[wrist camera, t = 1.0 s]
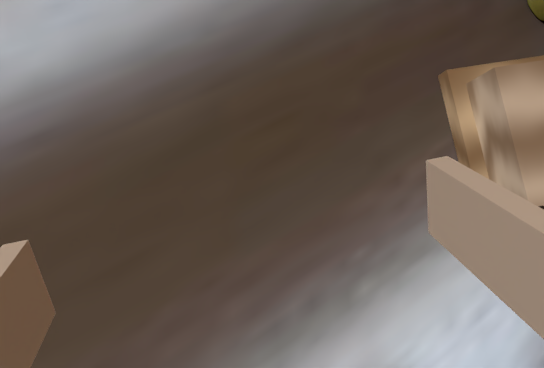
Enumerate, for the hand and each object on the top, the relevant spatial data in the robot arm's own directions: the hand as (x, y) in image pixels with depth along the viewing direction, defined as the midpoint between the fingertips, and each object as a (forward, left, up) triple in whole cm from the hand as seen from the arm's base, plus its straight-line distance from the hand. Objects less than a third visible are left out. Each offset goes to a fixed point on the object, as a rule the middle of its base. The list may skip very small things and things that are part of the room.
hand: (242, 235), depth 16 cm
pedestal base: (+2, -31, -23) cm, 38 cm away
